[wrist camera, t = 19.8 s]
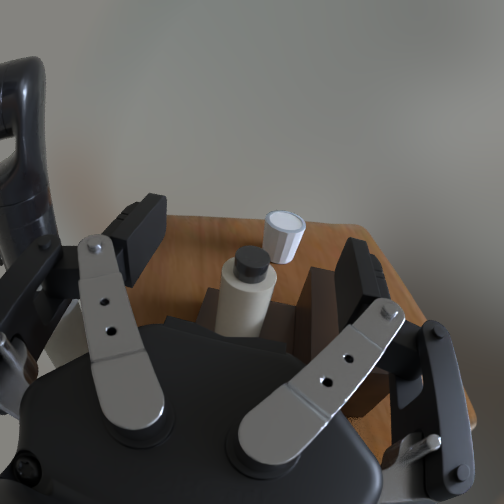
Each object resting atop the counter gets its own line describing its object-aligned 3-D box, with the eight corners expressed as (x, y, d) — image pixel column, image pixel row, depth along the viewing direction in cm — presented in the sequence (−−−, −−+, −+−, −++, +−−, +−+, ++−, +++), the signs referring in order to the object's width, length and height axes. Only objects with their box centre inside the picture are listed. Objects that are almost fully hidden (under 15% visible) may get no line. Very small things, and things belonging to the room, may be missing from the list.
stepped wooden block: (177, 387, 31) (174, 335, 25) (206, 302, 42) (212, 244, 36) (362, 417, 30) (406, 375, 24) (355, 331, 42) (384, 282, 36)
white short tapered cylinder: (268, 269, 50) (277, 234, 46) (252, 244, 55) (258, 211, 51) (303, 262, 53) (313, 230, 49) (285, 239, 58) (293, 208, 53)
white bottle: (208, 348, 32) (218, 267, 25) (219, 315, 37) (230, 234, 29) (254, 359, 32) (279, 281, 25) (260, 325, 36) (283, 246, 29)
